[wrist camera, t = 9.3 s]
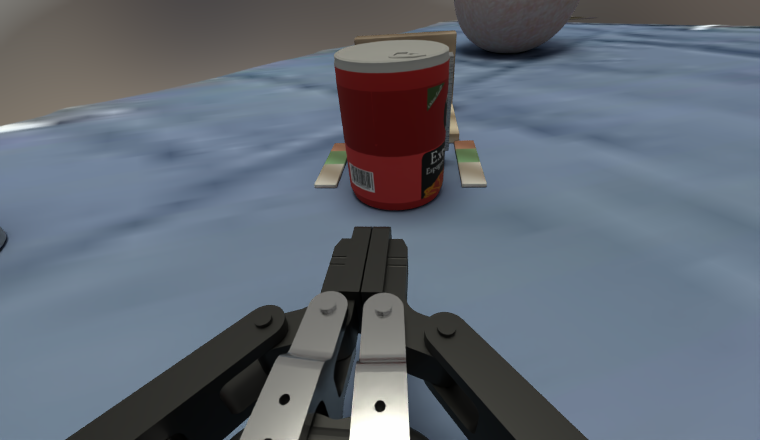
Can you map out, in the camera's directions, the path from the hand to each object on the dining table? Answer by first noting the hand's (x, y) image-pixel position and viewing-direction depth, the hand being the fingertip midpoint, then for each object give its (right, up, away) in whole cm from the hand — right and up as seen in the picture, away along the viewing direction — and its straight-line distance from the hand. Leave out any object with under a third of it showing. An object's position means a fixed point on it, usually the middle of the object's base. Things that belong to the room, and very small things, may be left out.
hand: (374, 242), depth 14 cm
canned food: (+2, +4, +15) cm, 16 cm away
